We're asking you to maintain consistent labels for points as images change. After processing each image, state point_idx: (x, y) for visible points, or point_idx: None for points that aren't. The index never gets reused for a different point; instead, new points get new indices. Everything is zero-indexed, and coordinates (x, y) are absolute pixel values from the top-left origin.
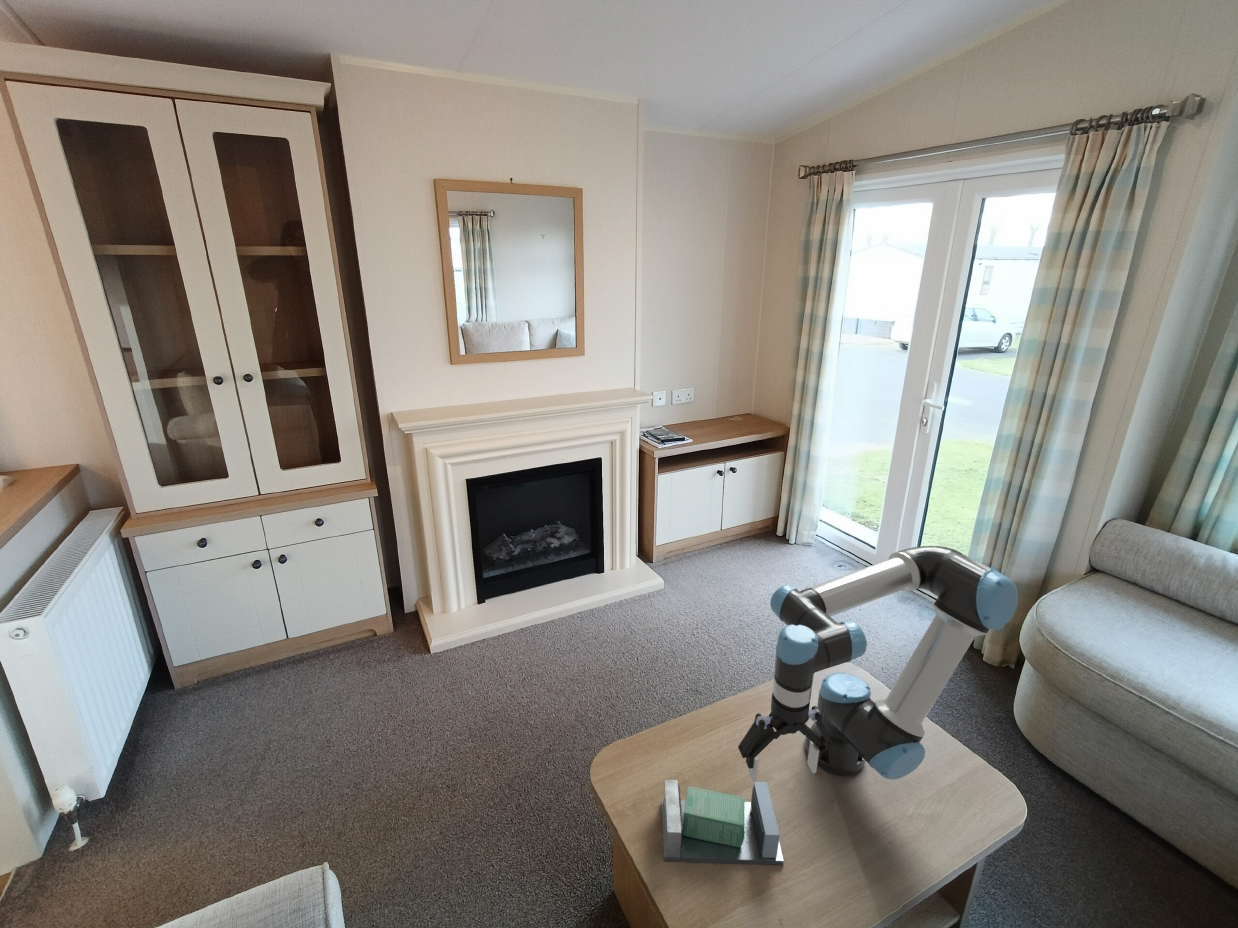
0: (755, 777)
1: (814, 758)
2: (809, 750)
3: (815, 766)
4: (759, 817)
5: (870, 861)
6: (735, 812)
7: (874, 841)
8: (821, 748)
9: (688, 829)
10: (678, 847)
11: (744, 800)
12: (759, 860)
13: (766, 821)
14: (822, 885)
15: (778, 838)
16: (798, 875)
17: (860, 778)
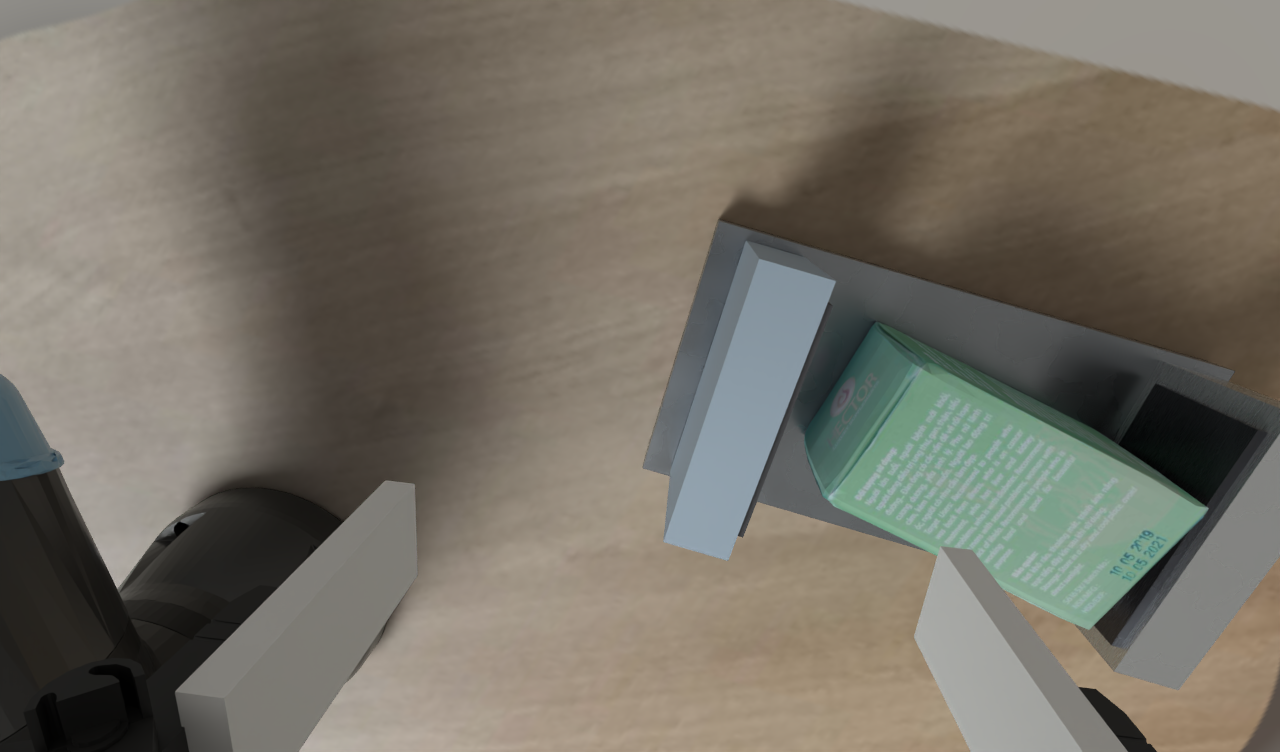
0: (978, 580)
1: (319, 598)
2: (334, 687)
3: (359, 523)
4: (801, 384)
5: (348, 143)
6: (927, 437)
7: (292, 217)
8: (115, 713)
9: (1113, 442)
10: (1206, 378)
11: (827, 486)
12: (822, 250)
13: (787, 348)
14: (598, 97)
15: (761, 255)
16: (676, 163)
17: (228, 465)
